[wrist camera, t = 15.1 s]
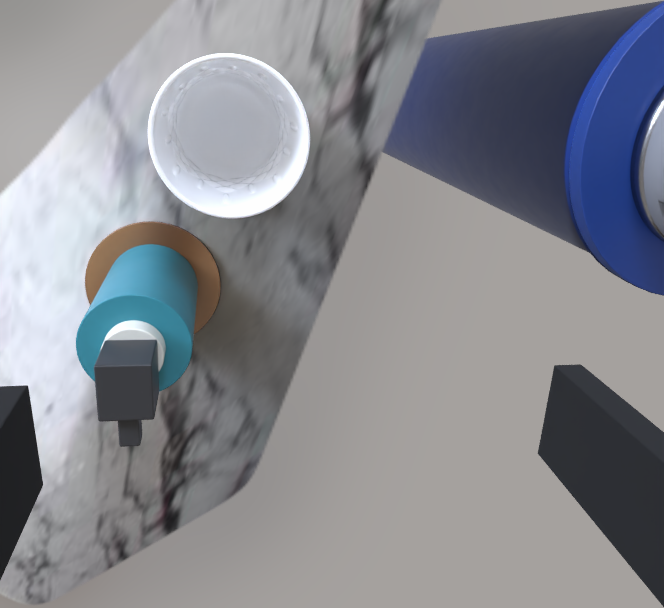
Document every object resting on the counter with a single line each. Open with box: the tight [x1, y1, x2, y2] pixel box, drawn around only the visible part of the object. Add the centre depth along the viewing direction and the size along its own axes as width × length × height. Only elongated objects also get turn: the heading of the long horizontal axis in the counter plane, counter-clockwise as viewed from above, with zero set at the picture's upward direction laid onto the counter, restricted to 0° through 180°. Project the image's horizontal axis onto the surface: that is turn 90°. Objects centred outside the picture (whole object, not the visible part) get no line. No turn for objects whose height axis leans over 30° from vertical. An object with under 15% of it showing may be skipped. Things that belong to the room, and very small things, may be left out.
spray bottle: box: [76, 244, 198, 447], centre depth 35 cm, size 7×6×14 cm
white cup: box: [148, 53, 310, 219], centre depth 34 cm, size 8×8×10 cm
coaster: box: [85, 222, 221, 334], centre depth 42 cm, size 9×9×1 cm
